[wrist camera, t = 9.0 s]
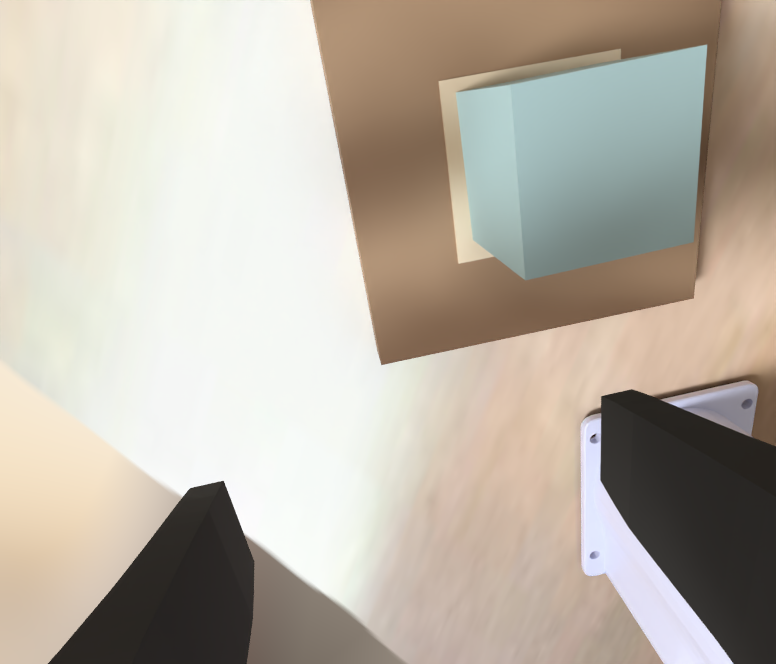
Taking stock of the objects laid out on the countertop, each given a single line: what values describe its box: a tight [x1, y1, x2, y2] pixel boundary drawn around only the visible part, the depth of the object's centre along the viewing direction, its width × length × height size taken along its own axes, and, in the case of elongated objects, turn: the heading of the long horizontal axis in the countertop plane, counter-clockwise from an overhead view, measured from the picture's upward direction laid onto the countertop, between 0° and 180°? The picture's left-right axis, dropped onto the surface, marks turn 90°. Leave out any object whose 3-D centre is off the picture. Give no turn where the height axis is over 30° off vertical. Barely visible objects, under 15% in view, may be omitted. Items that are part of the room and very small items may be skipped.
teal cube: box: [456, 45, 707, 280], centre depth 14 cm, size 4×4×4 cm
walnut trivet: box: [310, 0, 722, 365], centre depth 17 cm, size 12×12×1 cm
